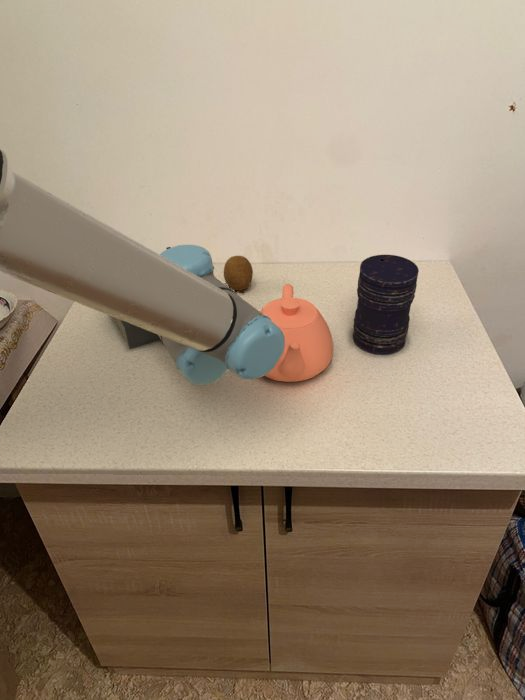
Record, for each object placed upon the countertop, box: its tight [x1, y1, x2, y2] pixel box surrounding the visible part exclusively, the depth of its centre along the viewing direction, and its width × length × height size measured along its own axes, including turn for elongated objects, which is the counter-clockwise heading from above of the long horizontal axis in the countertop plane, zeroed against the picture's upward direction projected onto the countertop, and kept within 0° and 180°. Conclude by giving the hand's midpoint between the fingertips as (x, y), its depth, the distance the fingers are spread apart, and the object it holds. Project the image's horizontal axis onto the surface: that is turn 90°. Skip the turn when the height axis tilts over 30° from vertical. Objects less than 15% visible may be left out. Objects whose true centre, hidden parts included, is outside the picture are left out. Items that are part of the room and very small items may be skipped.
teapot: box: [260, 283, 334, 383], centre depth 85 cm, size 22×15×12 cm
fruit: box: [223, 255, 254, 291], centre depth 106 cm, size 6×6×8 cm
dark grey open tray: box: [113, 317, 161, 350], centre depth 101 cm, size 14×20×5 cm
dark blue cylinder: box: [352, 254, 420, 356], centre depth 89 cm, size 10×10×15 cm
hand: (135, 261), depth 97 cm, fingers open, 13 cm apart
